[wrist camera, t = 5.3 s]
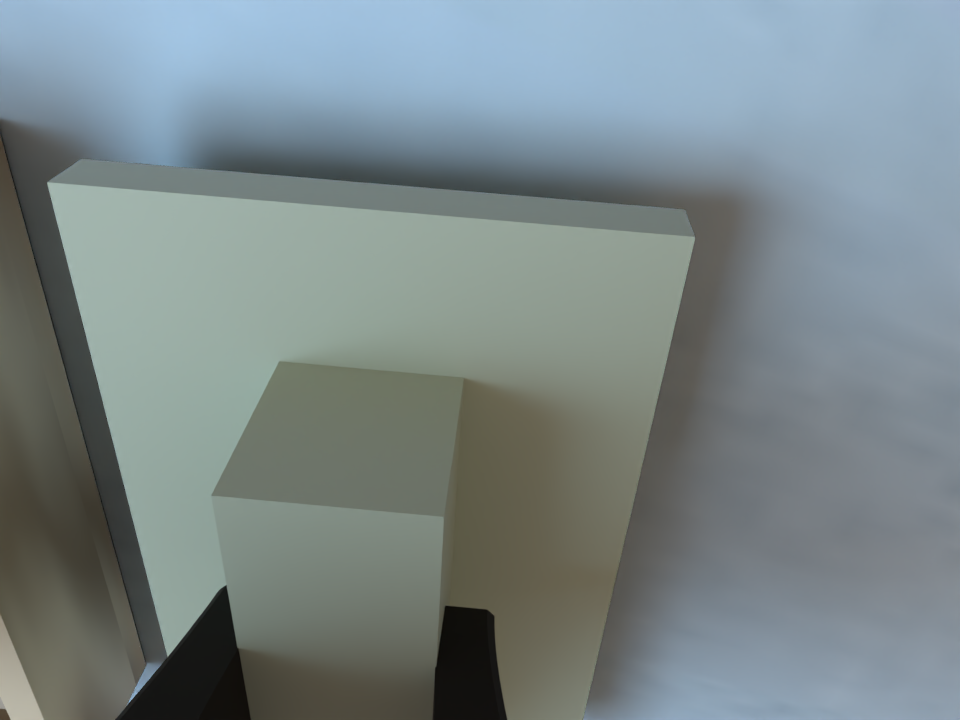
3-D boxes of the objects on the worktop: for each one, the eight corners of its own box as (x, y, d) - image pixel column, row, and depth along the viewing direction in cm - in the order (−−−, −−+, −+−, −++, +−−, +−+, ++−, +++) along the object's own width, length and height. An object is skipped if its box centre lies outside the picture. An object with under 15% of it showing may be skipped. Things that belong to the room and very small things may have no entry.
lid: (561, 735, 17) (566, 955, 14) (221, 702, 17) (144, 910, 14) (676, 187, 10) (743, 358, 7) (107, 140, 10) (-103, 284, 7)
